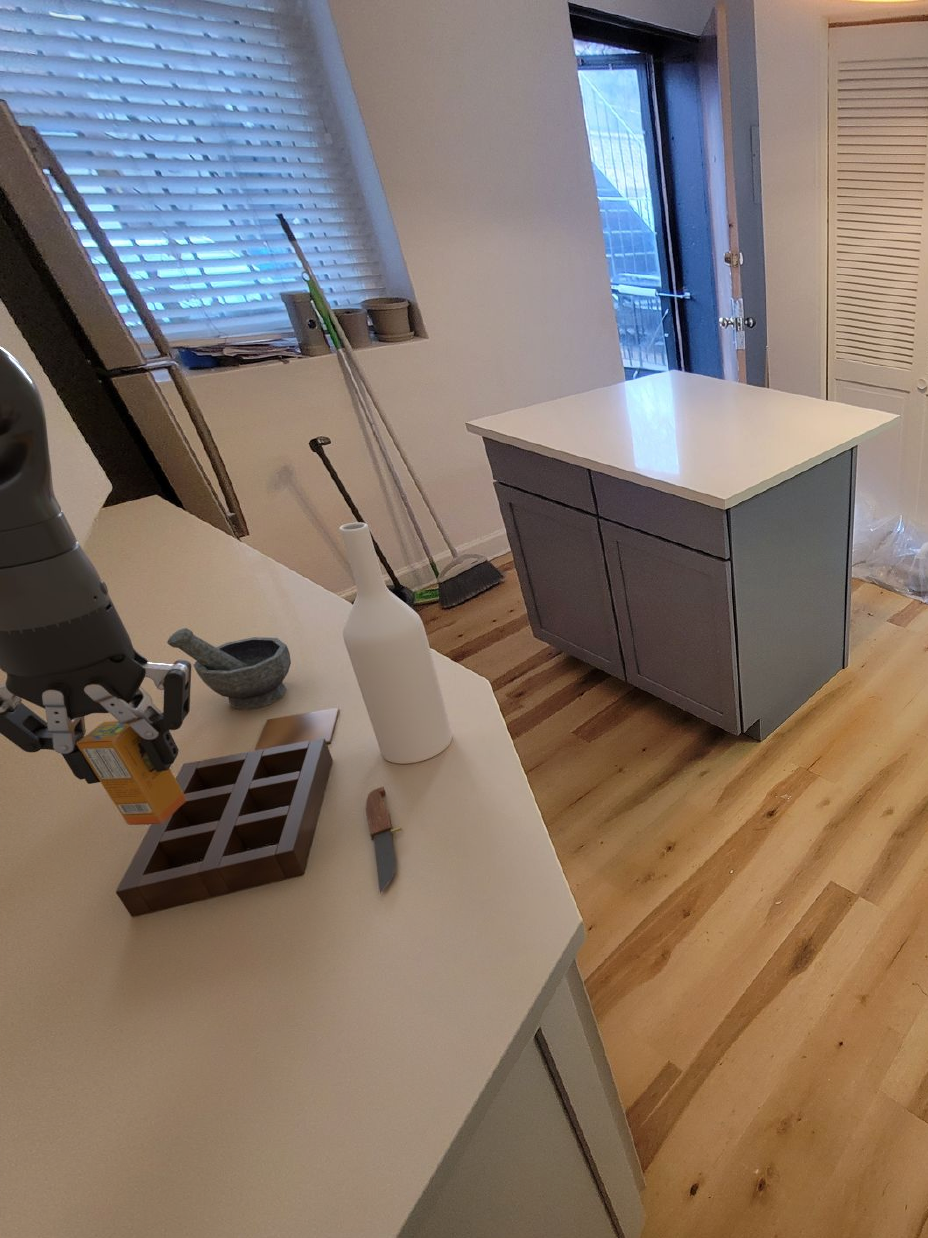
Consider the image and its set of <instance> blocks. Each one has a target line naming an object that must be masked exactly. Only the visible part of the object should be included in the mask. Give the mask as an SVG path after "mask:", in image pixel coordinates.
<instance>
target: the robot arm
mask: <svg viewBox="0 0 928 1238" xmlns="http://www.w3.org/2000/svg"><path fill="white" fill-rule="evenodd" d="M39 390H40V389H39V388H38V386H37V385H36V383H35V380H34V379H33V378H32V376H31V374H30V372H28V371H27V369H25V367H24V366H23V365H22V364H21V363H20V361H18V360H17V359H16V358H15V357H14V356H13V355H12V354H11V353H10V352H9V351H8V350H6V349H4V348H3V347H1V346H0V670H1V671H2V672H3V673H6V680H5V682H4V683H1V684H0V735H3V737H5V739H8V740H9V741H10V742H11V743H13V744H14V745H15V746H17V747H18V748H19V749H21V750H22V751H24V752H26V753H37V752H39V751H41V750H50V751H55V752H56V753H58V754H61V755H62V757H63V759H64V761H65V762H66V764H67V765H68V767H69V769H70V770H71V772H72V775H74V777H76V778H78V779H79V780H81V781H82V780H84V781H85V782H86V783H87V784H88V785H93V784H97V783H101V782H100V780H99V779H98V777H97V776H96V774H95V773H94V771H93V770H92V768H91V766H90V765H89V763H88V762H87V760H86V759H85V757H84V756H83V754H82V752H81V751H80V749H79V748H78V746H77V745H76V743H77V742H78V741H79V740H81V739H82V738H83V737H85V736H86V734H87V732H86V731H87V730H86V720H85V717H86V716H88V715H92V714H110V715H111V716H112V717H113V718H114V719H115V720H116V721H119V722H120V723H122V724H128V725H129V726H130V727H131V728H132V729H133V730H134V731H135V732H136V733H137V734H138V735H140V736H141V737H142V738H143V739H142V740H141V744H142V746H143V748H144V750H145V751H146V753H147V755H148V757H149V759H150V761H151V763H152V765H153V767H154V768H155V770H156V771H157V772H160V771H166V770H169V768H170V769H171V767H172V765H173V764H174V763H175V761H176V760H177V757H178V755H179V750H180V749H179V747H178V745H177V744H176V741H175V739H174V737H173V736H172V733H171V732H170V731H176V730H179V729H181V727H182V725H183V723H184V720H185V718H186V717H187V716H188V714H189V713H190V709H191V708H190V707H191V685H192V663H191V662H190V661H188V660H186V659H177V660H175V661H174V662H173V664H172V663H171V664H169V663H157V662H149V660H148V659H147V658H146V657H145V656H143V655H142V654H140V652H138V651H136V649H135V648H134V646H133V643H132V639H131V637H130V635H129V632H128V630H127V628H126V627H125V624H124V623H123V620H122V619H121V617H120V615H119V612H118V610H117V609H116V606H115V605H114V602H113V600H112V598H111V597H110V596H111V595H109V589H108V586H107V584H106V583H105V581H104V580H102V578H101V576H100V574H99V572H98V570H97V569H96V567H95V565H94V563H93V562H92V561H91V559H90V558H89V556H88V555H87V553H86V552H84V549H83V548H82V547H81V545H80V543H79V542H78V539H77V537H76V535H75V533H74V532H73V530H72V527H71V525H70V523H69V522H68V520H67V517H66V515H65V513H64V511H63V510H62V507H61V505H60V504H59V502H58V500H57V497H56V496H55V495H56V494H55V491H54V487H53V474H52V473H53V472H52V464H51V458H50V457H51V456H50V449H49V448H50V447H49V437H48V427H47V417H46V413H45V412H46V411H45V405H44V403H43V399H42V396H41V392H40V391H39ZM145 678H149V679H151V680H152V681H153V683H154V686H155V687H156V689H157V690H158V691H163V710H162V711H163V712H162V711H161V710H160V709H159V708H158V707H157V705H155V703H154V701H153V697H152V696H151V695H150V694H149V693H148V692H147V691H146V690H145V689H144V688H143V687H142V686H141V685H142V683H143V682H144V680H145ZM22 700H25V701H27V702H29V703H31V704H33V705H35V706H38V707H39V708H41V709H44V710H45V716H46V717H45V718H46V720H44V719H43V718H42V717H40V716H39V715H38V714H37V713H35V712H34V711H33V710H32V709H30V708H29V706H26V705H25V704H24V703H23V701H22Z"/></svg>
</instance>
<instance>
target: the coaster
mask: <svg viewBox="0 0 928 1238" xmlns="http://www.w3.org/2000/svg"><path fill="white" fill-rule="evenodd" d="M339 713H340V707H334V708H328V709H327V708H326V709H322V710H315V711H309V712H304V713H298V714H297V713H296V714H292V715H285V716H280V717H275V718H274V717H273V718H269V719H266V721H265V724H264V726H263V729H262V731H261V733H260V736H259V738H258V740H257V743H256V746H255V748H254V750H253V751H256V750H261V749H267V748H272V747H278V746H283V745H289V744H294V743H299V742H305V741H311V740H316V739H322V738H325V741H326V743H327V745H330V744H331V743H332V739H333V735H334V732H335V728H336V724H337V720H338V717H339Z"/></svg>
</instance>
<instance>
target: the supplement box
mask: <svg viewBox="0 0 928 1238" xmlns="http://www.w3.org/2000/svg"><path fill="white" fill-rule="evenodd" d="M142 739H143V738H142V737H141V736H140V735H138V734H137V733H136V732H135V731H134V730H133V729H132V728H131V727H130V726H129V725H128V724H122V723H120V722H119V721H118V720H107V721H103V722H101V723H99V725H97V726H96V727H95V728H94V729H92V730H91V731H89V732H88V733H86V734H85V735H84V737H83V738H82V739H81V740H79V741H78V742H77V743H76V745H77V746H78V748H79V749H80V751H81V752H82V754H83V756H84V757H85V759H86V760H87V762H88V763H89V765H90V766H91V768H92V770H93V771H94V773H95V774H96V776H97V777H98V779H99V780H100V782H99V783H100V784H101V785H102V787H103V789H104V790H105V791H106V793H107V795H108V796H109V798H110V799H111V801H112V803H113V804H114V805H115V808H117V810H118V812H119V813H120V815H121V816H122V818H123V819H124V821H125V823H126V824H127V826H140V825H142V826H143V825H145V826H146V825H151V824H161V823H165V822H166V821H167V820H168V819H169V818H170V817H171V815H172V814H173V813H174V812H175V811H176V810H177V809H178V808H179V807H180V806H181V805H183V804H184V803H185V802H186V800H187V799H186V797H185V795H184V793H183V791H182V790H181V788H180V786H179V784H178V782H177V781H176V777H175V775H174V773H173V772H172V770H171V767H170V768H169V770H166V771H160V772H157V771H156V770H155V768H154V767H153V765H152V763H151V761H150V759H149V757H148V755H147V753H146V751H145V750H144V748H143V746H142V744H141V740H142Z"/></svg>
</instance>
